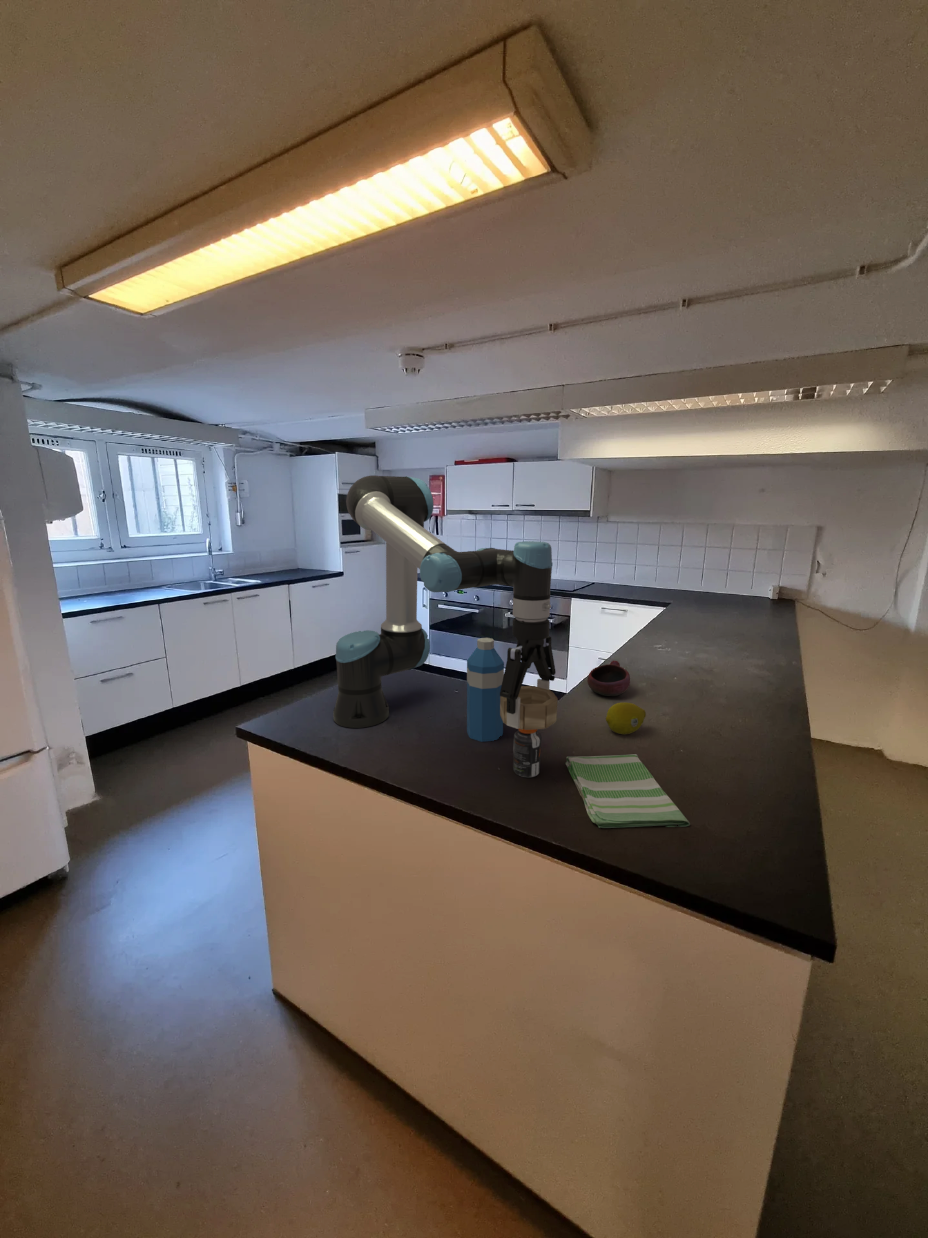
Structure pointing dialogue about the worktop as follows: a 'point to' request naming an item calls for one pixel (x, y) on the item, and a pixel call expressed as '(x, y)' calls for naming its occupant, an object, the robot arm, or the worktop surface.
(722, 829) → the worktop surface
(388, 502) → the robot arm
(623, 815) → the dish towel
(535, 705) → the ring
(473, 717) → the water bottle
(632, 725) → the lemon
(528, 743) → the pill bottle
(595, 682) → the bowl
